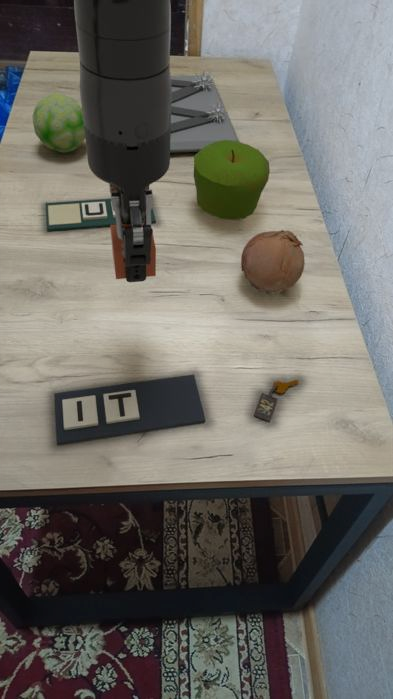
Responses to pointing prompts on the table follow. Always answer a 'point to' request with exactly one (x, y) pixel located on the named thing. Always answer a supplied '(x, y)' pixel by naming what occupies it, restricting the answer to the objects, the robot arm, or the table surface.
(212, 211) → the apple
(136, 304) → the table surface
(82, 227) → the far word mat
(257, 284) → the onion
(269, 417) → the key tag
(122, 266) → the red striped block
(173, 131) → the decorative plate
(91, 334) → the table surface
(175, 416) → the near word mat
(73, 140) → the decorative ball
